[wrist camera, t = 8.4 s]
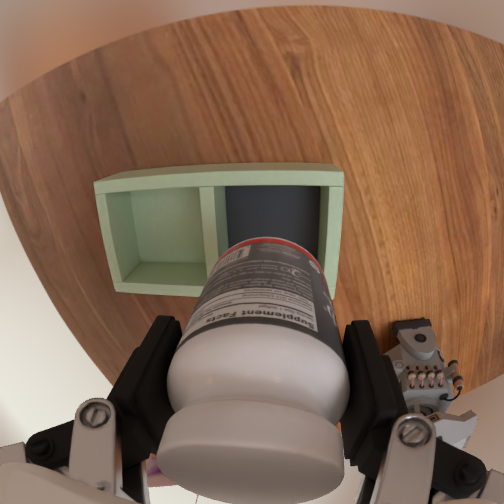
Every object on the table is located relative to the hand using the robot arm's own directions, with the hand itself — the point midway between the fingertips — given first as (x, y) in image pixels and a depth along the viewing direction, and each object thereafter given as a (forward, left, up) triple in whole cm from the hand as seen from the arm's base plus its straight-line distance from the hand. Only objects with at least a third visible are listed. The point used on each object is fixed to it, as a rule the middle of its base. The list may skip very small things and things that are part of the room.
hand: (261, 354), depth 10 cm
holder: (0, -4, -16) cm, 16 cm away
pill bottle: (0, 0, -5) cm, 5 cm away
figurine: (+15, +13, -16) cm, 25 cm away
